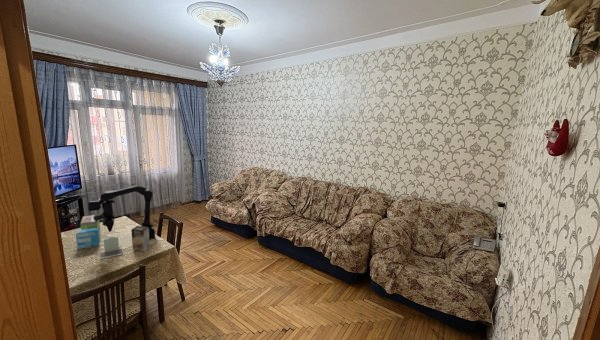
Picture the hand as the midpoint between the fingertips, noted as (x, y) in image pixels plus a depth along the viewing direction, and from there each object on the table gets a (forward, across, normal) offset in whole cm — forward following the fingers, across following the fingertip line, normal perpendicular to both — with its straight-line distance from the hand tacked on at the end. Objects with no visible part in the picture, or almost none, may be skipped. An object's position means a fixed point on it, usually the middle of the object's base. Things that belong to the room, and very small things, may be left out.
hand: (110, 229), depth 182 cm
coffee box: (+13, +15, +18) cm, 27 cm away
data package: (+12, -5, -14) cm, 19 cm away
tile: (+12, +8, 0) cm, 15 cm away
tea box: (+12, -21, -14) cm, 28 cm away
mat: (+12, +14, 0) cm, 19 cm away
